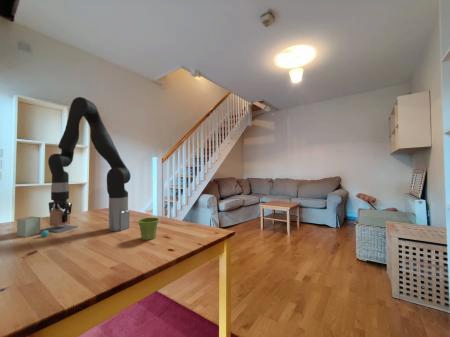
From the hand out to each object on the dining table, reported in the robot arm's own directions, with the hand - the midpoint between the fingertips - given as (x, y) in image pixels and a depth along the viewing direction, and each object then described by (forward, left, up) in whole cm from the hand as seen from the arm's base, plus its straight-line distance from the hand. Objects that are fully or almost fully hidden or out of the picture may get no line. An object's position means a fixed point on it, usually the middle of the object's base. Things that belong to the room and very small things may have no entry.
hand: (60, 221), depth 107 cm
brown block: (0, 0, -2) cm, 2 cm away
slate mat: (0, 0, -4) cm, 4 cm away
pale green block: (+5, +11, -4) cm, 13 cm away
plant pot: (-55, -1, -4) cm, 55 cm away
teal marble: (-6, +11, -4) cm, 13 cm away
